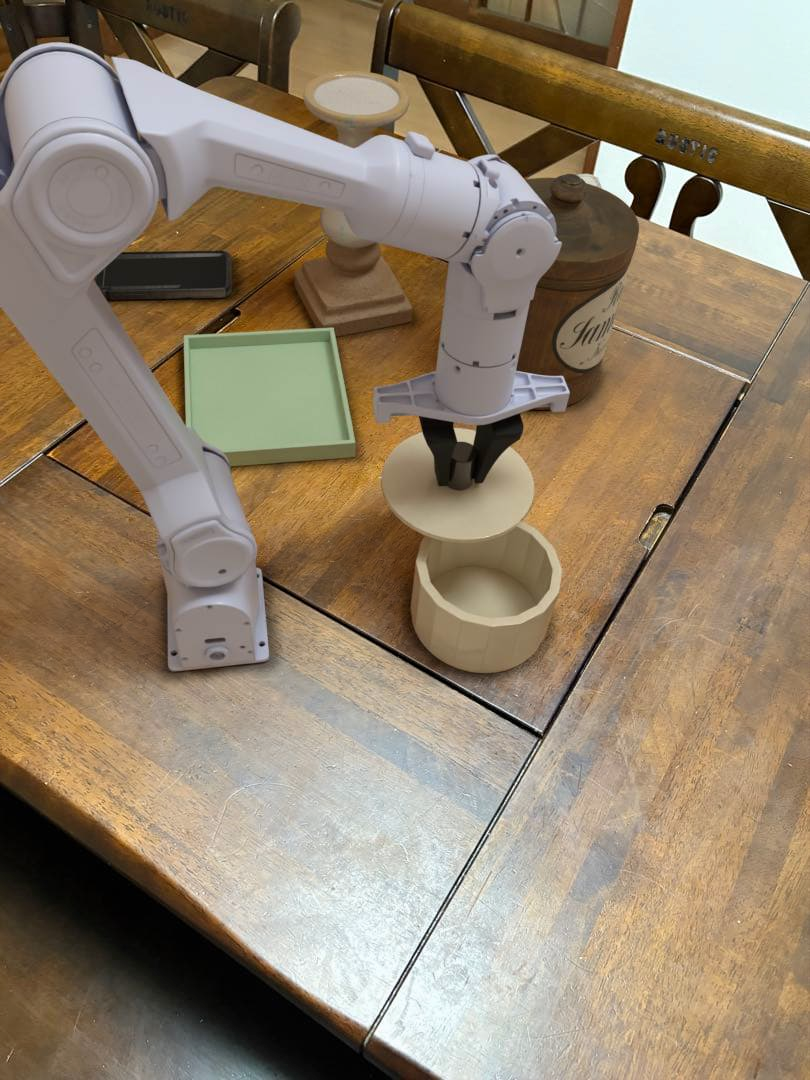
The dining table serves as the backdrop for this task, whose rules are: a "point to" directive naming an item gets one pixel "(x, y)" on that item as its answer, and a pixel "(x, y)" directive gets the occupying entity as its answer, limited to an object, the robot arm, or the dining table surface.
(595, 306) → the wooden container
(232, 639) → the robot arm
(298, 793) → the dining table surface
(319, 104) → the candle holder
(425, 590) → the tin
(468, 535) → the lid
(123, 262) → the phone
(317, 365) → the tray
